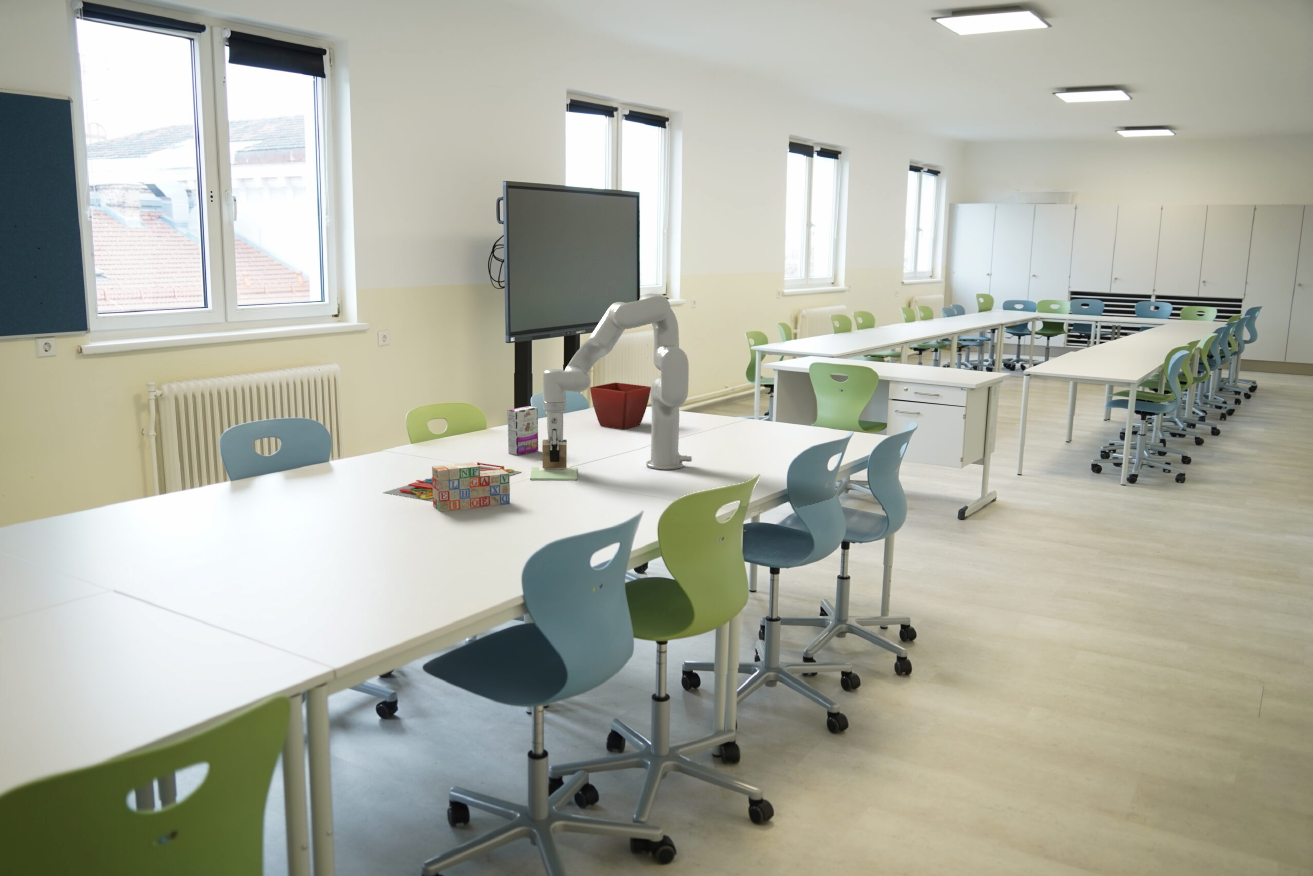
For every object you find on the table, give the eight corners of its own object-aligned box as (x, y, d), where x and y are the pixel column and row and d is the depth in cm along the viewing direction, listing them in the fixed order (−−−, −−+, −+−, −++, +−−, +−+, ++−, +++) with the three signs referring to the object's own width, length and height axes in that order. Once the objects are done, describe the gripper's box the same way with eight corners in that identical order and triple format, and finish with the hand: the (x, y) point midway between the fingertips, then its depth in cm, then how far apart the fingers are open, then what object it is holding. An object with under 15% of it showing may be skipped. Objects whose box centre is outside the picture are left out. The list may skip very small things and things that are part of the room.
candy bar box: (528, 449, 366) (528, 405, 363) (538, 451, 363) (538, 407, 360) (507, 453, 357) (506, 409, 354) (517, 455, 354) (516, 410, 351)
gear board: (432, 495, 289) (382, 486, 298) (432, 503, 290) (382, 494, 298) (521, 466, 328) (475, 460, 337) (521, 473, 329) (475, 467, 338)
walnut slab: (566, 465, 334) (566, 439, 332) (566, 468, 330) (566, 441, 328) (542, 465, 333) (542, 439, 331) (542, 468, 329) (542, 441, 327)
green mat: (576, 469, 335) (576, 467, 335) (576, 480, 320) (576, 478, 320) (532, 469, 334) (532, 467, 334) (530, 480, 318) (530, 477, 318)
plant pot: (625, 432, 404) (626, 391, 401) (588, 426, 414) (588, 387, 411) (651, 425, 420) (652, 386, 417) (614, 420, 430) (615, 382, 427)
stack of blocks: (502, 499, 295) (502, 459, 292) (510, 504, 289) (509, 463, 287) (432, 507, 284) (431, 465, 282) (438, 512, 279) (438, 469, 277)
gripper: (565, 410, 320) (565, 465, 323) (566, 402, 336) (566, 454, 340) (542, 410, 319) (542, 465, 323) (544, 402, 335) (544, 454, 339)
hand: (554, 459), depth 331 cm, fingers closed on walnut slab, 4 cm apart
